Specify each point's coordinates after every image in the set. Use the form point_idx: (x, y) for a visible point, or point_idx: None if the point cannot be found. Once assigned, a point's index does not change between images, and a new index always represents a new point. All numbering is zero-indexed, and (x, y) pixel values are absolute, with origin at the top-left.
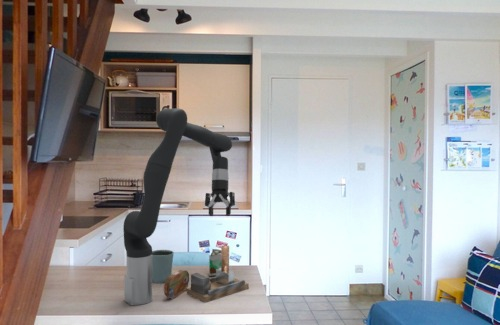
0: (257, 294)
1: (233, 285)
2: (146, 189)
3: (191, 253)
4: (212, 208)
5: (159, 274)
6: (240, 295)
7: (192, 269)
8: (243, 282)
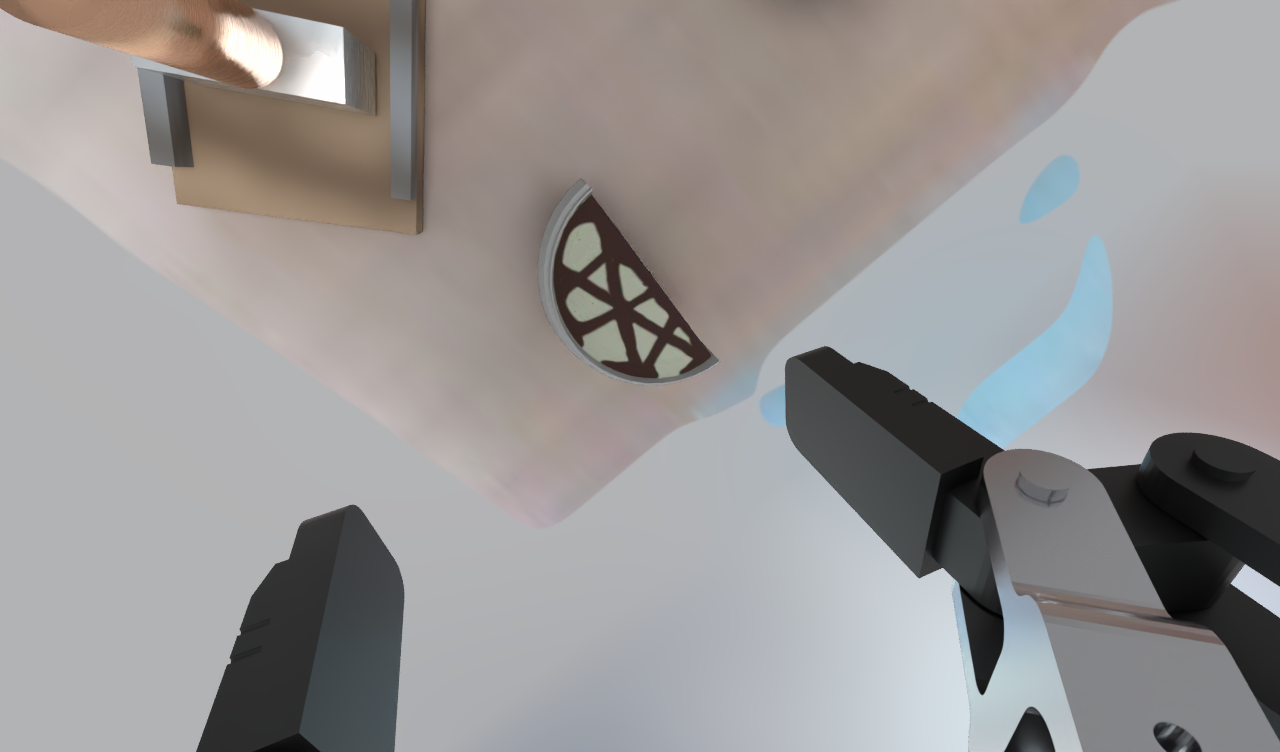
0: (35, 143)
1: None
2: None
3: None
4: (910, 530)
5: None
6: None
7: (783, 240)
8: (155, 145)
